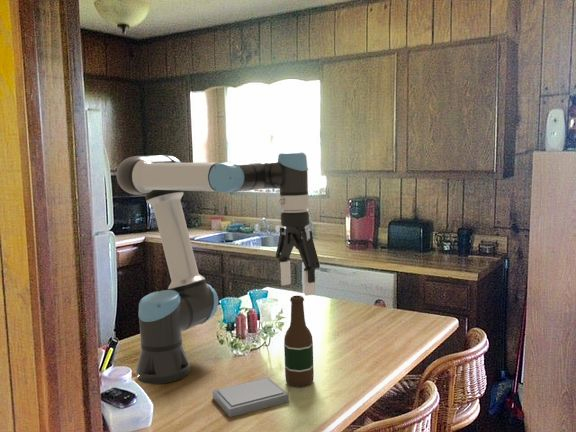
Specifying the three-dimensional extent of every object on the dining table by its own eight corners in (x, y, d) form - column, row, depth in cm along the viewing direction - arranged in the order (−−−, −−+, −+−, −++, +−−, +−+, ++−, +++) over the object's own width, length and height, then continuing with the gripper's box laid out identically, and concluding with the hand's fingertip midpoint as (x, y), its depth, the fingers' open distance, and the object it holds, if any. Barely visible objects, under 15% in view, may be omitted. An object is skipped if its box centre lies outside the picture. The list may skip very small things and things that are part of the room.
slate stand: (212, 398, 139) (212, 389, 139) (268, 384, 146) (268, 376, 146) (229, 417, 128) (229, 408, 128) (289, 401, 136) (288, 392, 135)
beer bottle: (312, 375, 151) (310, 292, 149) (315, 387, 144) (312, 299, 141) (285, 376, 151) (282, 293, 148) (285, 388, 143) (283, 301, 141)
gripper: (262, 209, 151) (265, 282, 154) (305, 215, 129) (308, 301, 132) (285, 207, 155) (288, 279, 157) (331, 213, 133) (334, 296, 135)
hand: (297, 289), depth 144 cm, fingers open, 13 cm apart
